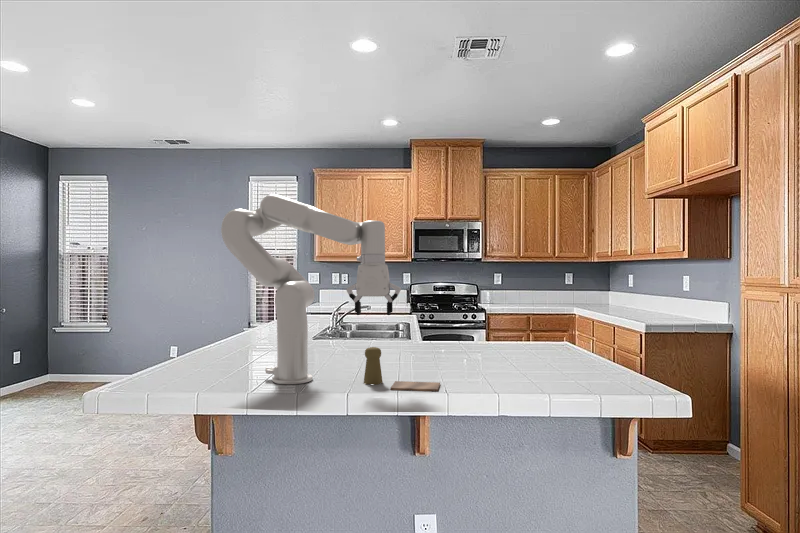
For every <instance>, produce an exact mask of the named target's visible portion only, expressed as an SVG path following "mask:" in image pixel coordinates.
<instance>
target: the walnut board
mask: <svg viewBox="0 0 800 533" xmlns="http://www.w3.org/2000/svg"><path fill="white" fill-rule="evenodd" d="M440 386H441V382H435V381H433V382H432V381H431V382H430V381H404V380H403V381H402V380H401V381H399V380H397V381H396V380H395V381H394V382H393V384H392V385H391V386H390V391H411V390H412V392H413V391H415V392H416V391H418V392H439V389H440Z"/></svg>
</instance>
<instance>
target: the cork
mask: <svg viewBox="0 0 800 533" xmlns="http://www.w3.org/2000/svg"><path fill="white" fill-rule="evenodd" d="M364 356H365V358H366V360H365V362H366V363H365V369H364V375H363V376H364V378H363V384H364V383H366V384H365V385H369V384H376V385H381V384H383V383H384V382H383V376H382V367H381V366H382V365H381V360H380V359H381V356H382V350H381V348H379V347H376V346H375V347H374V346H372V347H371V346H370V347H367V348H366V349H365V351H364ZM380 383H381V384H380Z"/></svg>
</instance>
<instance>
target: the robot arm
mask: <svg viewBox="0 0 800 533" xmlns="http://www.w3.org/2000/svg"><path fill="white" fill-rule="evenodd" d="M259 206H260V207H259V208H257V209H254V210H248V209H243V208H235V209H232V210H230V211H228V212H227V213H226V214H225V216H224V217H223V219H222V222H221V227H220V228H221V229H220V230H221V231H220V232H221V238H222V240H223V242H224V243H223V244H224V245H225V246H226V248H227V249H228V250H229V252H230V253H231V254H232V255H233V256H234V257H235V258H236V259H237V260H238V261H239V263H241V264H242V266H243V267H244V268H245V269H246V270H247V271H248V272H249V273H250V274H251V275H252V276H253V277H254V279H255V280H257V282H259V284H260V285H261V286H264V287H267V288H274V289H276V292H275V295H274V305H275V312H276V314H275V315H276V333H277V336H276V337H277V340H276V341H277V342H276V346H277V347H276V348H277V350H276V352H277V353H276V356H277V359H276V362H277V364H276V366H274V367H272V366H266V367H265V369H264V370H265V374H267V375H271V374H272V375H273V377H272V379H271V380H272V383H275V384H278V385H302V384H305V383H308V382H312V380H313V375H312V374H309V373H308V371H309V370H308V369H309V368H308V366H309V365H308V364H309V363H308V351H309V350H308V349H309V348H308V345H309V344H308V337H309V336H308V334H309V333H308V314H307V308H308V307H310V306H311V305H312V304H313V302H314V300H315V296H316V295H315V291H314V288H313V286H312V284H310V282H309V281H308V280H306V278H305V277H304V276H303V275H302V274H301V273H300V272H299V271H298V270H297V269H296V267H294V266H293V265H292V264H291V263H290V262H288V260H286V259H284V258H279V257H274V256H273V255H272V254H270V252H268V251H267V250H266V248H264V247H263V245H261V243H260V242H258V241H257V240H256V239H255V238H254V237H257V236H261V235H263V234H265V233H268V232H269V231H271V230H274V229H276V228H278V227H279V226H283V225H285V226H286V227H290V228H293V229H296V230H298V231H301V232H305V233H307V234H308V233H309V234H313V235H316V236H319V237H322V238H325V239H328V240H330V241H334V242H337V243H339V244H343V245H347V246H353V245H359V244H360V248H361V249H360V253H361V254H360V255H359V256H357V257H356V262H360V264H358V266H357V273H356V282H355V283H354V284H352V285H350V286H348V287H347V288H346V289H345V291H346V293H347V294H348V296H349V298H350V299H351V300H352V301H353V302H354V312H355V313H356V315H357V316H360V315H361V314H362V301H360V300H361V299H362V298H364V297H384V298H385V299H386V300H387V302H386V315H387V316H390V315H391V313H393V302H394V301H395V300H396V299H397V298H398V296H399V295H400V293H401V290H402V287H400V286H398V285H396V284H394V283H392V282H391V281H390V273H389V267H388V264H386V226H385V223H384V221H381V220H366V221H362V222H359V221H353V220H350V219H347V218H345V217H342V216H339V215H336V214H332V213H329V212H326V211H324V210H321V209H319V208H317V207H315V206H313V205H311V204H307V203H303V202H300V201H297V200H294V199H291V198H289V197H285V196H283V195H279V194H273V193H272V194H268V195H266V196H264V197H263V199H262V200H261V202H260V204H259ZM355 289H356V291H355V292H356V295H355V294H354V293H353V290H355ZM391 289H393V290H394V292H393V295H391V294H390V293H391Z"/></svg>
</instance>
